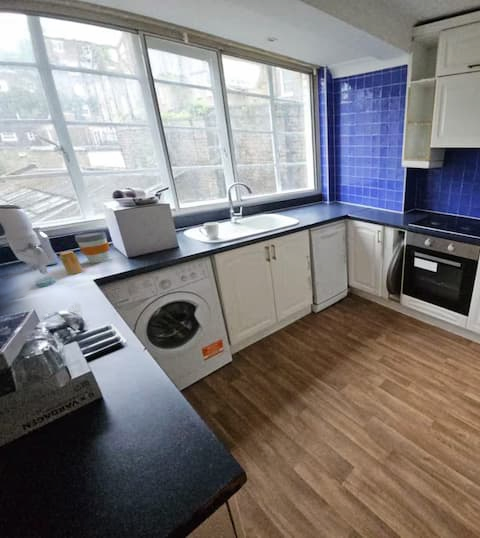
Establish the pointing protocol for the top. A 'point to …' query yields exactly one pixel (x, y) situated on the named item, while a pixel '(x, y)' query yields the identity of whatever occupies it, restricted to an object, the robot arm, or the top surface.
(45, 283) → the jar lid
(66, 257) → the jar
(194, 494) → the top surface
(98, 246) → the reusable coffee cup
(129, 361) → the top surface
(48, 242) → the plastic bottle
